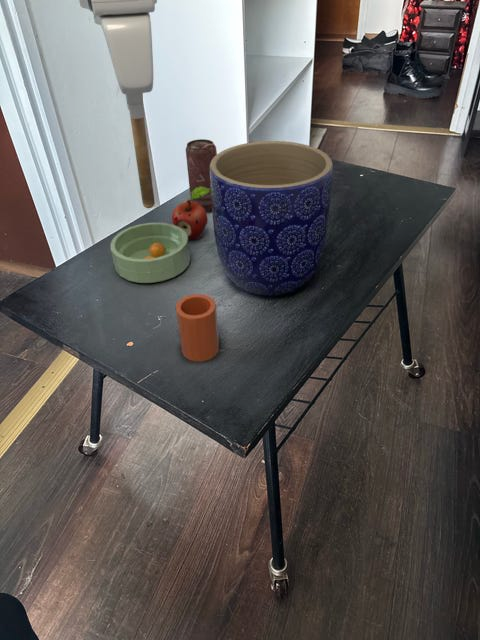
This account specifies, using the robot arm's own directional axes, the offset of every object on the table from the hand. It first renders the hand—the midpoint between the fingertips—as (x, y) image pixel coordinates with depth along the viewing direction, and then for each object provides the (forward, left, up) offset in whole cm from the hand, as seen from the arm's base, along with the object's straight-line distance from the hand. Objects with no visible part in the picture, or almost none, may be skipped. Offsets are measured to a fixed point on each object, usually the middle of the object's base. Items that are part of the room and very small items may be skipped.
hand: (136, 113), depth 63 cm
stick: (0, 0, -14) cm, 14 cm away
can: (+13, +29, -29) cm, 43 cm away
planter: (+18, -2, -29) cm, 34 cm away
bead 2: (0, +10, -27) cm, 28 cm away
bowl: (-1, +9, -29) cm, 30 cm away
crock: (+3, -16, -29) cm, 33 cm away
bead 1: (-1, +5, -27) cm, 27 cm away
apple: (+8, +17, -29) cm, 34 cm away
